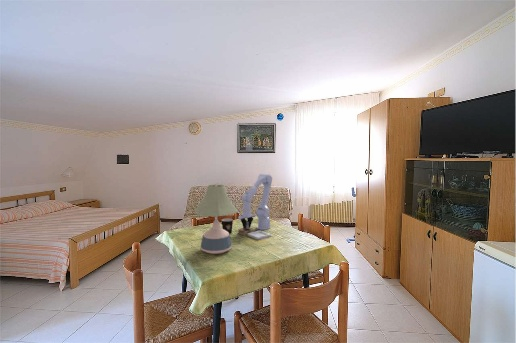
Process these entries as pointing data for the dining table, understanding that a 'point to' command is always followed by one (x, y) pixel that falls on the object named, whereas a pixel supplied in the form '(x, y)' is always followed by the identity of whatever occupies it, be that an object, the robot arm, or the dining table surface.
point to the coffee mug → (227, 225)
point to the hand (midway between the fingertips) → (246, 227)
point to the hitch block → (244, 232)
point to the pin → (247, 225)
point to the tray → (259, 235)
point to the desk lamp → (216, 219)
